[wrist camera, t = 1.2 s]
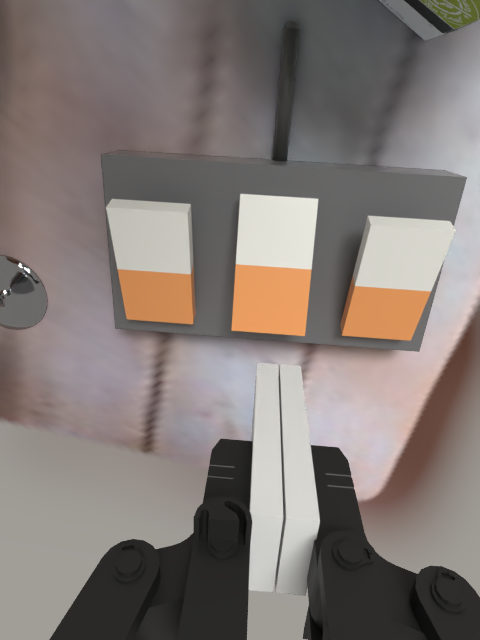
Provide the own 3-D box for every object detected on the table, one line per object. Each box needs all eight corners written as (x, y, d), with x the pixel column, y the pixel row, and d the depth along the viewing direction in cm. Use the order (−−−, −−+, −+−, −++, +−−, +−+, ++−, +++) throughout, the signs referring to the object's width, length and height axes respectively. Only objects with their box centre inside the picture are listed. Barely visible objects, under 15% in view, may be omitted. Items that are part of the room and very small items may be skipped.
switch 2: (365, 209, 27) (370, 224, 25) (446, 214, 27) (456, 230, 25) (339, 317, 33) (341, 335, 31) (404, 322, 32) (410, 340, 31)
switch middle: (241, 196, 29) (240, 193, 27) (314, 201, 29) (318, 198, 27) (233, 324, 31) (231, 330, 29) (302, 329, 31) (304, 336, 29)
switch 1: (115, 193, 27) (106, 207, 26) (192, 198, 27) (187, 212, 26) (133, 302, 33) (126, 319, 32) (197, 307, 33) (193, 324, 32)
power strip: (110, 12, 28) (87, -3, 24) (478, 31, 27) (510, 18, 24) (130, 308, 37) (115, 328, 34) (404, 328, 37) (419, 351, 33)
